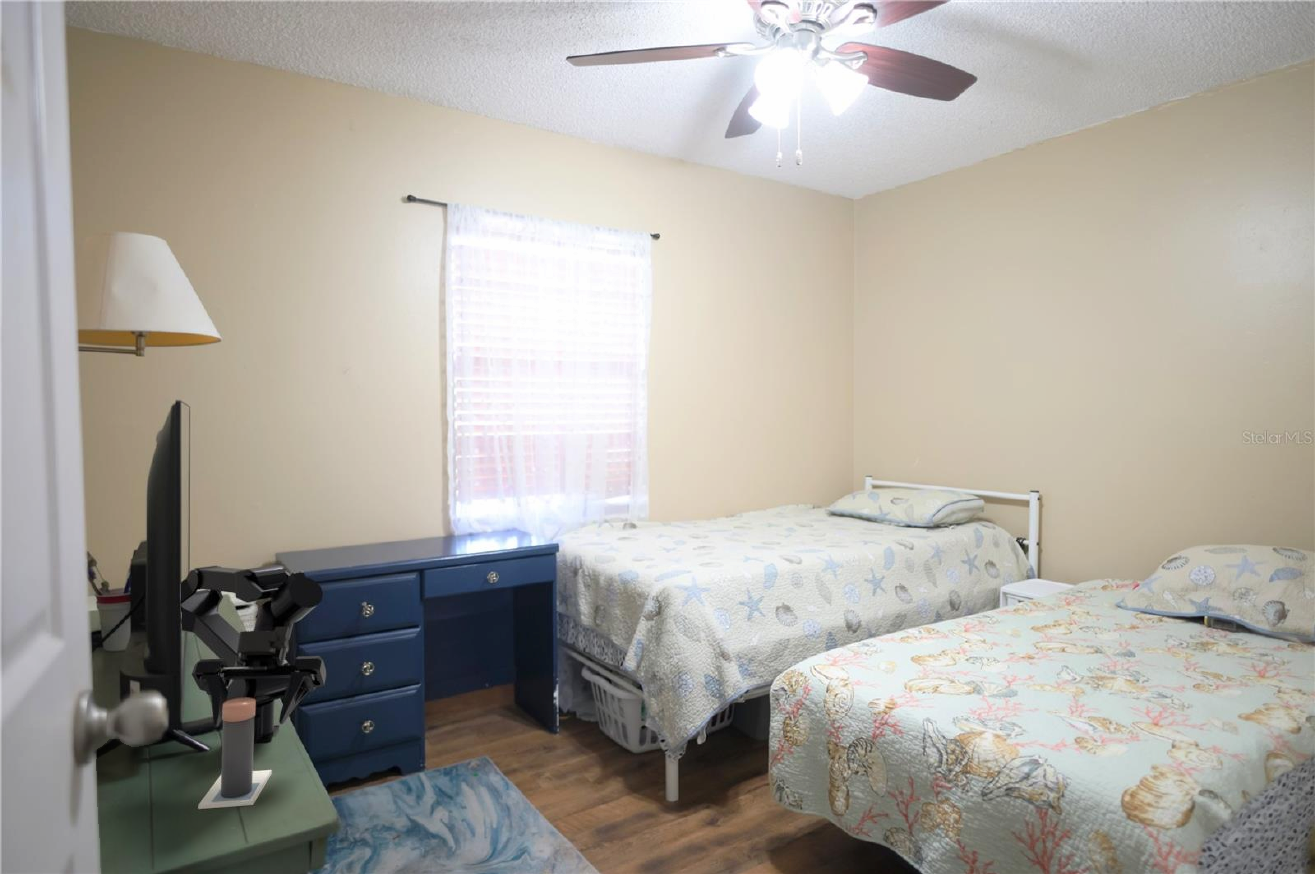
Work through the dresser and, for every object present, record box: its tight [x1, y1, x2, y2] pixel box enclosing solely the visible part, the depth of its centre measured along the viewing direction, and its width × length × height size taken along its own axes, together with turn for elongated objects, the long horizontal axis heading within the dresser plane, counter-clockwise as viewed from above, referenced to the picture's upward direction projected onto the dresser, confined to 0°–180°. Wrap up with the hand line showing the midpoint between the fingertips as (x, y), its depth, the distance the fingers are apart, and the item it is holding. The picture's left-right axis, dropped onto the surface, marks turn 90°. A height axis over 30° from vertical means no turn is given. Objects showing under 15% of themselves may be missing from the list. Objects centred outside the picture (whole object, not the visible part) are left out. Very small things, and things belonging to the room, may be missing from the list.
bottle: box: [220, 698, 256, 798], centre depth 109 cm, size 4×4×13 cm
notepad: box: [197, 769, 273, 810], centre depth 111 cm, size 10×7×1 cm
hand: (248, 724), depth 115 cm, fingers open, 9 cm apart
